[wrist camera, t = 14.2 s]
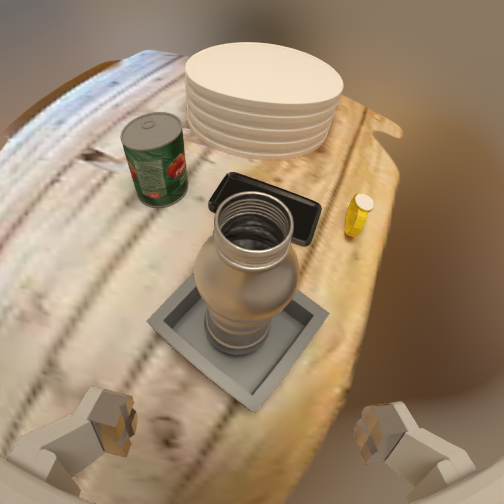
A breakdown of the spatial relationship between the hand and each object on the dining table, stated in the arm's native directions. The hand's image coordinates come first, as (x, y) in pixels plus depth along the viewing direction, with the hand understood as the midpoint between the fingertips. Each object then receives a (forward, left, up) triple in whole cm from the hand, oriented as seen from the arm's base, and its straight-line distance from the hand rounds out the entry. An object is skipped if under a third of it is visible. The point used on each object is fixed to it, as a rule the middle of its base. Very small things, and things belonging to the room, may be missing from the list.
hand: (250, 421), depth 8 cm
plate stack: (-28, +41, -22) cm, 55 cm away
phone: (-13, +23, -22) cm, 34 cm away
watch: (-2, +29, -22) cm, 36 cm away
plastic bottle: (-5, +7, -21) cm, 22 cm away
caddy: (-5, +7, -22) cm, 23 cm away
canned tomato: (-27, +16, -22) cm, 38 cm away
